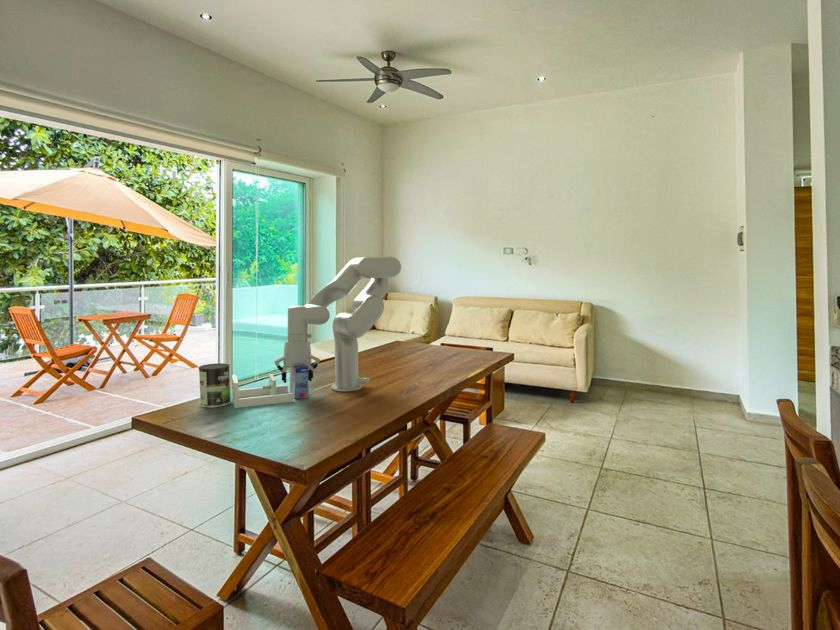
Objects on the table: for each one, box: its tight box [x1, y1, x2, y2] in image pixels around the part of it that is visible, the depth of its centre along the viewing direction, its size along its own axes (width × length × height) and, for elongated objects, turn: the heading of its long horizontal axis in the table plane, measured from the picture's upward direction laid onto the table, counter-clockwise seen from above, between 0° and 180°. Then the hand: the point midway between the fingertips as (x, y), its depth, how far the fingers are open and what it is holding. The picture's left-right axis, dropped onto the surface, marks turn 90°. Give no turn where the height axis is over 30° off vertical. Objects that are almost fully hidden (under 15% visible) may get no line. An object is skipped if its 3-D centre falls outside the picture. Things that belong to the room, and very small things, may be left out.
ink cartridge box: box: [289, 366, 309, 400], centre depth 179 cm, size 10×6×14 cm, turn 27°
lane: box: [231, 374, 294, 409], centre depth 174 cm, size 20×14×9 cm
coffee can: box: [198, 362, 231, 409], centre depth 168 cm, size 10×10×14 cm
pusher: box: [262, 373, 277, 395], centre depth 175 cm, size 4×11×8 cm, turn 25°
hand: (297, 381), depth 179 cm, fingers open, 9 cm apart
